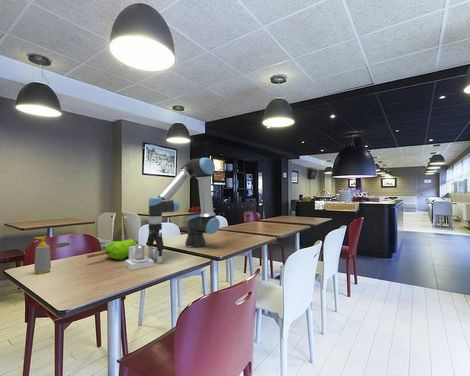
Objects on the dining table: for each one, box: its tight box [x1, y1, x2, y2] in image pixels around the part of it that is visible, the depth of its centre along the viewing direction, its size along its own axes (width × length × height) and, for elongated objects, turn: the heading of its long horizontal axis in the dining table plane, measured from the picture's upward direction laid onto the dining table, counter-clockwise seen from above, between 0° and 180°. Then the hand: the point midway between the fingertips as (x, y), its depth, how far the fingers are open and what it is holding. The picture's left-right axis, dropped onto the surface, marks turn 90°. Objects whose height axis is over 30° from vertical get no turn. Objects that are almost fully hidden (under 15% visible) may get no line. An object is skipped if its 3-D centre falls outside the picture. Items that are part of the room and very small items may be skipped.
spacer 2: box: [150, 247, 158, 263], centre depth 154 cm, size 5×5×7 cm
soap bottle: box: [33, 236, 52, 275], centre depth 132 cm, size 7×7×18 cm
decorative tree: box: [86, 238, 138, 261], centre depth 157 cm, size 18×10×30 cm
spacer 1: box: [135, 244, 145, 260], centre depth 142 cm, size 5×5×7 cm
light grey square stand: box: [124, 244, 155, 271], centre depth 143 cm, size 12×12×10 cm
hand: (154, 259), depth 154 cm, fingers open, 13 cm apart
